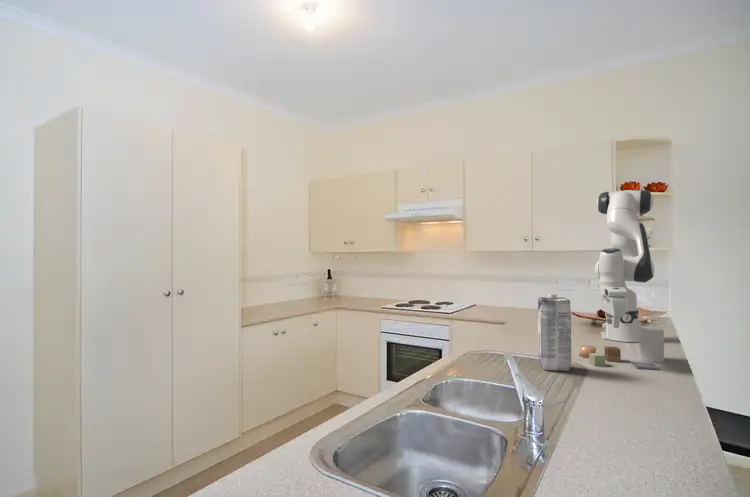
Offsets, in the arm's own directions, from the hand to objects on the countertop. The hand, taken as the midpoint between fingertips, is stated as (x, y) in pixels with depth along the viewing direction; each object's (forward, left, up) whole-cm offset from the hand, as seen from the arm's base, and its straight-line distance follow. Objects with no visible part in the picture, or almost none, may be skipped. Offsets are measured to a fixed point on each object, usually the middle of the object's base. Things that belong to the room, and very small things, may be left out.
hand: (612, 325), depth 163 cm
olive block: (+8, -7, -14) cm, 17 cm away
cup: (-6, +15, -14) cm, 21 cm away
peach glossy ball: (-4, -8, -14) cm, 17 cm away
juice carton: (+17, -23, -14) cm, 32 cm away
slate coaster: (+7, +9, -14) cm, 17 cm away
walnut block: (0, 0, -14) cm, 14 cm away
